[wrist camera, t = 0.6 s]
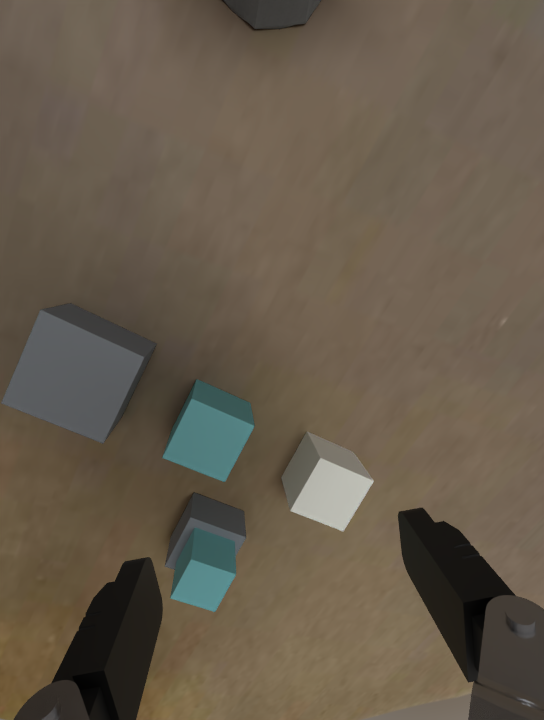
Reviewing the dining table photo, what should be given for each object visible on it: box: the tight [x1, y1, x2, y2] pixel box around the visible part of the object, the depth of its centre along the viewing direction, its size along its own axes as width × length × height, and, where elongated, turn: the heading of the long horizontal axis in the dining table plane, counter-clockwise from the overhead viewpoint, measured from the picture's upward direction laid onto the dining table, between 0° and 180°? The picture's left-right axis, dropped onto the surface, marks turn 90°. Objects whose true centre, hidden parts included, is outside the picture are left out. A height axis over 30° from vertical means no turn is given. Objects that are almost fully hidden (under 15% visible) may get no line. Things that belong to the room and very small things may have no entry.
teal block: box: [162, 379, 255, 482], centre depth 30 cm, size 5×5×5 cm
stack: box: [165, 493, 246, 612], centre depth 31 cm, size 5×5×7 cm
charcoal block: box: [2, 303, 157, 443], centre depth 28 cm, size 7×7×5 cm
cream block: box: [281, 432, 374, 531], centre depth 32 cm, size 5×5×5 cm
